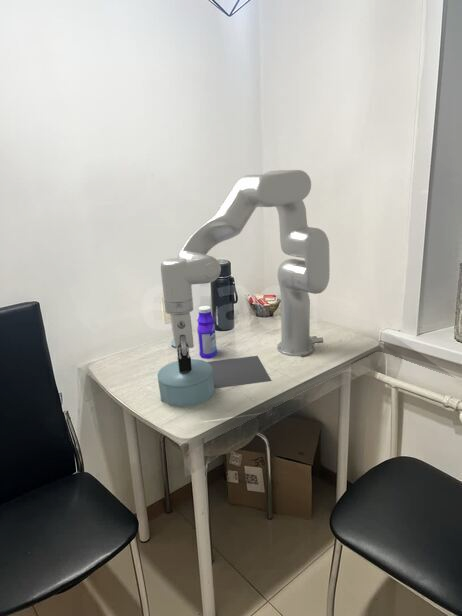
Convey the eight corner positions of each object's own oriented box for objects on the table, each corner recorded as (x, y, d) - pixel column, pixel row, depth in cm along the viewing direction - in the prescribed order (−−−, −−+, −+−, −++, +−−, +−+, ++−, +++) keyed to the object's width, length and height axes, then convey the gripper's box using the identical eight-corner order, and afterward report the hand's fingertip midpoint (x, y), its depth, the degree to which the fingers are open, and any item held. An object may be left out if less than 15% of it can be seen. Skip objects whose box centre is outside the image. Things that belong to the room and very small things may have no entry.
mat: (257, 356, 139) (257, 355, 139) (271, 381, 122) (271, 380, 122) (204, 363, 136) (204, 362, 136) (211, 390, 119) (211, 388, 119)
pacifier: (176, 353, 145) (190, 348, 149) (174, 337, 143) (188, 332, 147) (166, 347, 151) (179, 342, 154) (163, 332, 149) (177, 327, 152)
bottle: (213, 360, 138) (210, 311, 133) (197, 359, 139) (193, 310, 134) (218, 351, 145) (215, 304, 139) (203, 350, 146) (199, 303, 140)
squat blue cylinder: (210, 376, 127) (207, 342, 123) (217, 402, 112) (214, 364, 108) (160, 383, 124) (155, 349, 121) (161, 411, 110) (155, 373, 106)
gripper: (195, 313, 102) (201, 375, 108) (190, 294, 118) (195, 349, 124) (165, 317, 101) (172, 379, 107) (164, 297, 117) (170, 352, 123)
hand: (184, 363), depth 115 cm, fingers open, 9 cm apart
